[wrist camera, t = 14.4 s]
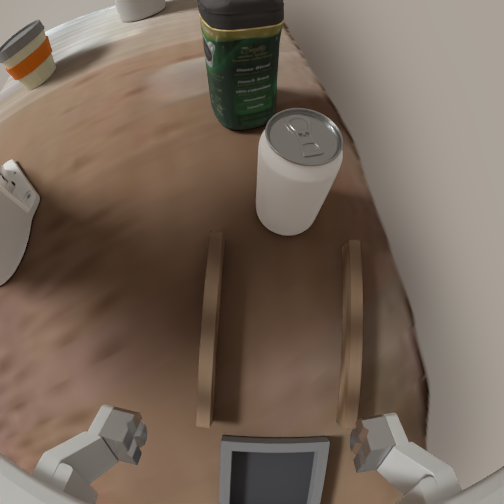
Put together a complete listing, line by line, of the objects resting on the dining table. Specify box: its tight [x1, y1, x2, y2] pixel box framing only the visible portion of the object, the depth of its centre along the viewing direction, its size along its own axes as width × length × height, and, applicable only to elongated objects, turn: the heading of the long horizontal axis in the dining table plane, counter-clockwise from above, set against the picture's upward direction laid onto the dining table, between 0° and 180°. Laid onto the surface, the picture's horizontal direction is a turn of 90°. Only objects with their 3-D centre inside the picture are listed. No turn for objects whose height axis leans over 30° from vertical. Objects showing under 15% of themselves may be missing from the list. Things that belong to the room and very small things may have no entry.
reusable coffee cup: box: [0, 20, 56, 90], centre depth 34 cm, size 13×13×15 cm
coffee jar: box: [197, 0, 284, 130], centre depth 26 cm, size 10×8×19 cm
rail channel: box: [196, 231, 363, 429], centre depth 25 cm, size 18×14×2 cm
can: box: [256, 108, 343, 236], centre depth 24 cm, size 6×6×12 cm
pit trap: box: [219, 435, 330, 504], centre depth 20 cm, size 10×10×2 cm
